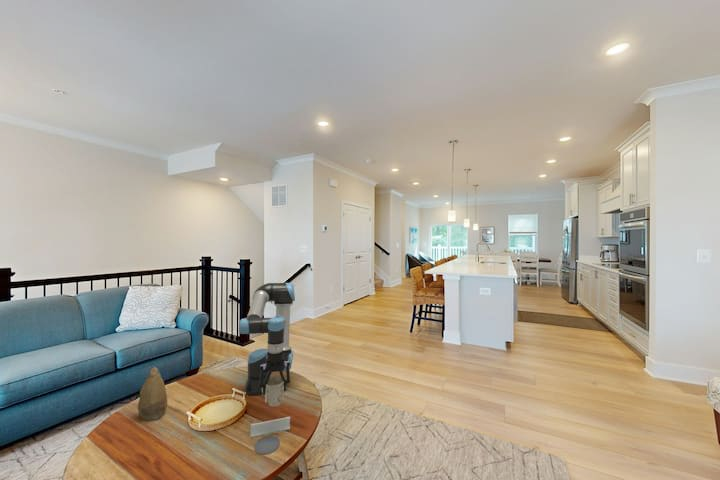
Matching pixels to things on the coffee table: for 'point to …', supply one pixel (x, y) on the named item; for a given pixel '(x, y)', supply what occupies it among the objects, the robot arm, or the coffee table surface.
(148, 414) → the sculpture
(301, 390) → the coffee table surface
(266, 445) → the coaster
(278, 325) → the robot arm
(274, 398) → the mug
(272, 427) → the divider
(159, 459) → the coffee table surface
